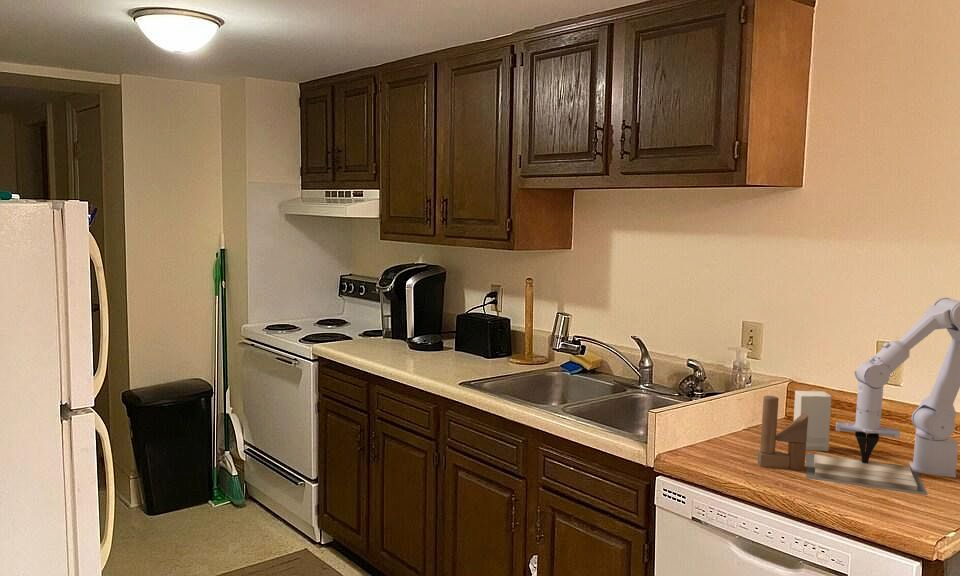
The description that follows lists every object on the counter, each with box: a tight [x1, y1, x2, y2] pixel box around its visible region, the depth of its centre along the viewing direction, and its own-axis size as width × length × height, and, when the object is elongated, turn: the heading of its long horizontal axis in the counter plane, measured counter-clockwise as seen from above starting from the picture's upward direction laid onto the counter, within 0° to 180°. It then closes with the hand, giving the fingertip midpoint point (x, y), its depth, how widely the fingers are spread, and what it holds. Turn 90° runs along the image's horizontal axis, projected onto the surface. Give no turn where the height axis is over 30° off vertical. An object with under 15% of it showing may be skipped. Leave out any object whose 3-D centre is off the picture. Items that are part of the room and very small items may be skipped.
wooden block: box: [757, 395, 808, 471], centre depth 200 cm, size 4×11×18 cm, turn 82°
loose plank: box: [814, 453, 913, 476], centre depth 200 cm, size 22×8×1 cm, turn 68°
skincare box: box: [793, 390, 833, 452], centre depth 218 cm, size 8×7×16 cm
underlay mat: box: [805, 452, 929, 496], centre depth 197 cm, size 26×22×1 cm
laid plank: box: [815, 463, 917, 491], centre depth 192 cm, size 22×8×1 cm, turn 68°
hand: (864, 461), depth 202 cm, fingers closed
